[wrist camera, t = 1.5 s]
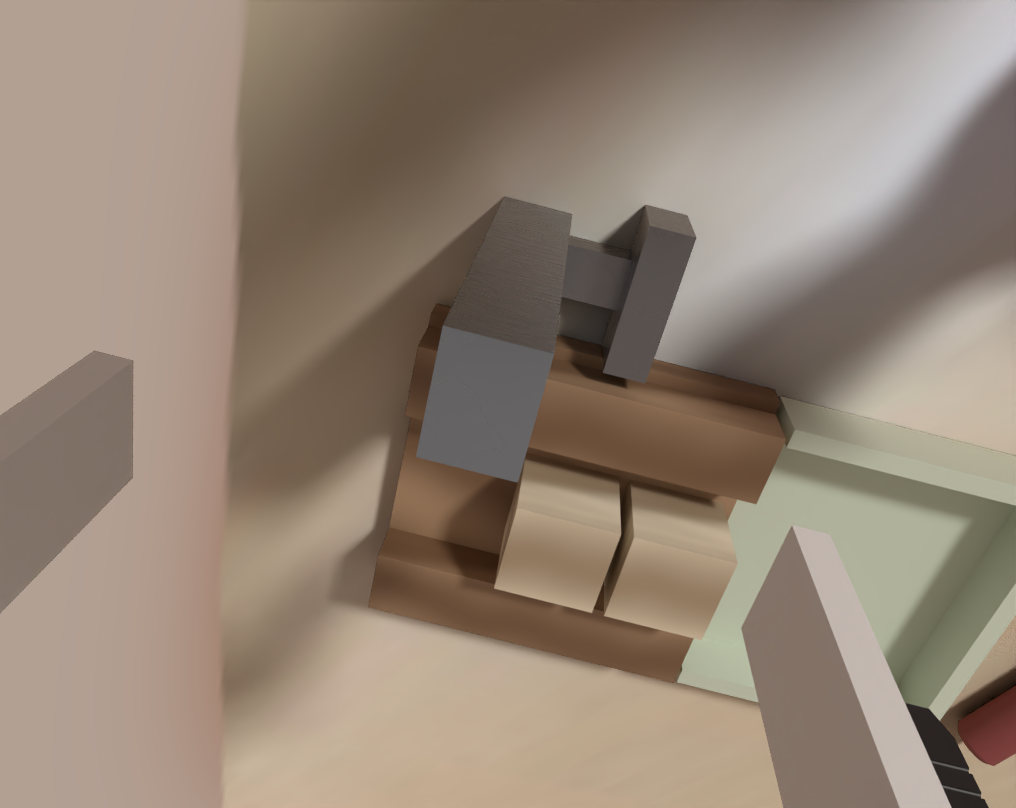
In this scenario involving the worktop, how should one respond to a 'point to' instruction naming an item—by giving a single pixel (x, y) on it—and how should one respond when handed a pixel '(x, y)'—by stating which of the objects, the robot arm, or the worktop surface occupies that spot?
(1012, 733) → the rolling pin
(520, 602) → the groove board
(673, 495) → the light wooden cube
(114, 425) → the robot arm
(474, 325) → the t-shaped gray bracket
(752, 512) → the tray
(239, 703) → the worktop surface
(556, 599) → the beige cube
